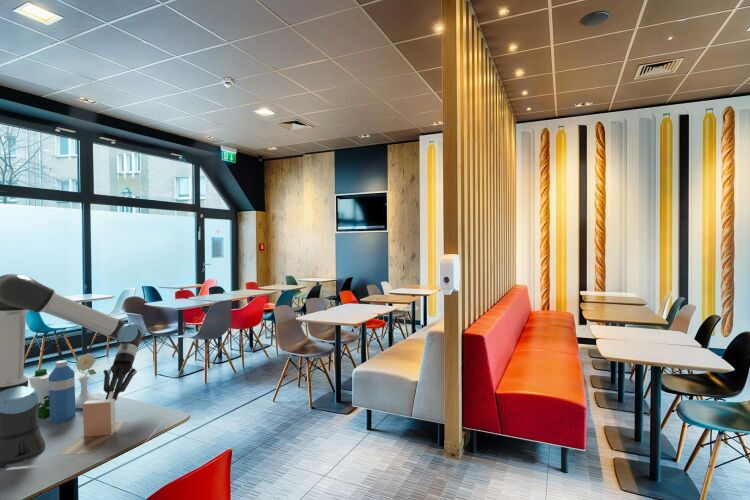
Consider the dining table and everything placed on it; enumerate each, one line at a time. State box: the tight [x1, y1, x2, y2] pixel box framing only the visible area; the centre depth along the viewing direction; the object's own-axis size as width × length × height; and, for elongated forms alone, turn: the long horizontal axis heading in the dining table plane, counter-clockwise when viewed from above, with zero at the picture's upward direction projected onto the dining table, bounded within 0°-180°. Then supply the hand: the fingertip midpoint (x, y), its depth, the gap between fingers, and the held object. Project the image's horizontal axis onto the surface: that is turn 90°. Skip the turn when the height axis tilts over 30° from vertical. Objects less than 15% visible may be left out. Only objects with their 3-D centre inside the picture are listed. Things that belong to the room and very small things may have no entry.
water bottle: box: [49, 359, 77, 424], centre depth 174 cm, size 9×9×25 cm
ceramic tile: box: [82, 398, 116, 437], centre depth 158 cm, size 3×10×13 cm, turn 99°
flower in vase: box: [75, 353, 100, 410], centre depth 187 cm, size 13×11×25 cm
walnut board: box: [58, 421, 129, 456], centre depth 156 cm, size 12×25×1 cm, turn 7°
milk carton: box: [28, 368, 52, 420], centre depth 178 cm, size 9×9×20 cm
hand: (107, 408), depth 164 cm, fingers closed
